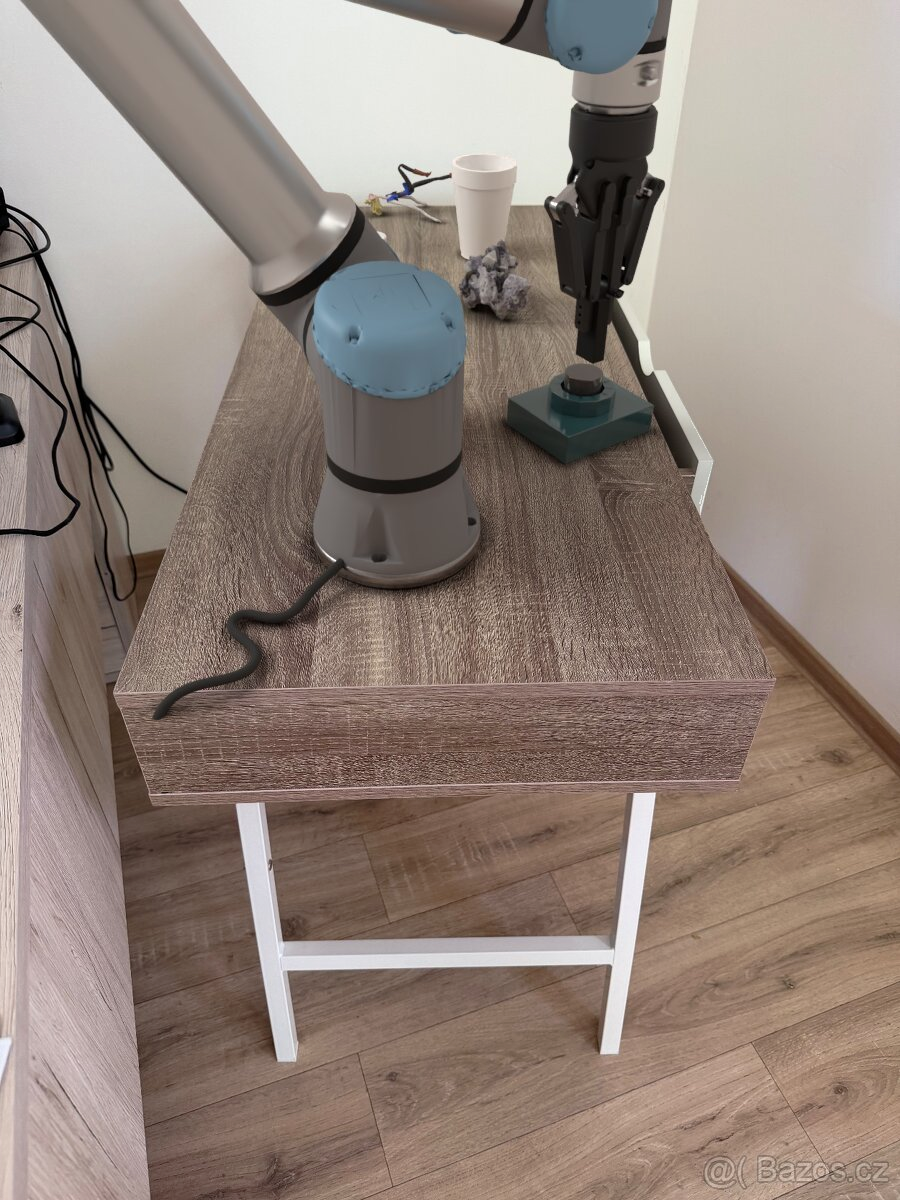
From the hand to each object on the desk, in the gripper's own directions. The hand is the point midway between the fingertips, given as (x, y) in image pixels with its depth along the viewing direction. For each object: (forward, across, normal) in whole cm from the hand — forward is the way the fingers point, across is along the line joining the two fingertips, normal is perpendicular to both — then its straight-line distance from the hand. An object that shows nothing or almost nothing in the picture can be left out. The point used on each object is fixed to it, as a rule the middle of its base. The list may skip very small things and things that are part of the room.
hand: (589, 357), depth 95 cm
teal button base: (+8, 0, 0) cm, 8 cm away
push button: (+4, 0, 0) cm, 4 cm away
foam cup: (+9, +21, +48) cm, 54 cm away
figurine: (+9, +22, +70) cm, 74 cm away
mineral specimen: (+9, +10, +31) cm, 34 cm away
